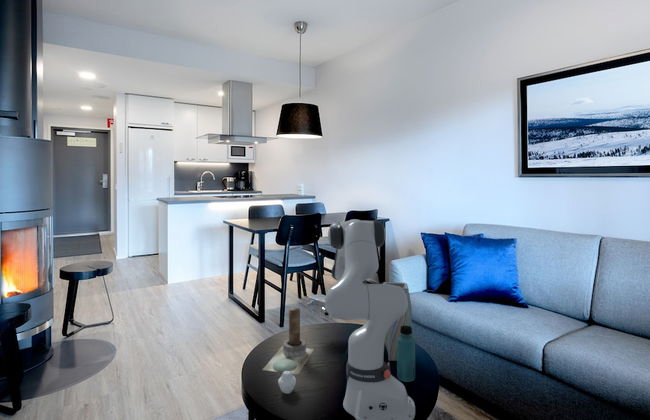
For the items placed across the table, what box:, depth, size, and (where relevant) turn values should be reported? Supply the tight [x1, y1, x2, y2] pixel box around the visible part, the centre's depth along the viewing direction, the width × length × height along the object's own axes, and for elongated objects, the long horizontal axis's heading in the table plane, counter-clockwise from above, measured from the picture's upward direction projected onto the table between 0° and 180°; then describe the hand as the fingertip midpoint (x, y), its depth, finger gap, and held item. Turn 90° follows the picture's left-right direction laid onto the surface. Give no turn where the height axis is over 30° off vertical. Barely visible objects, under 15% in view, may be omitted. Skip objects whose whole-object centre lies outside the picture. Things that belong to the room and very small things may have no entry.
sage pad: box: [273, 359, 296, 373], centre depth 143 cm, size 9×9×1 cm
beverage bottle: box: [396, 326, 416, 383], centre depth 134 cm, size 6×7×20 cm
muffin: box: [277, 371, 297, 395], centre depth 128 cm, size 6×6×7 cm
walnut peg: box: [288, 307, 301, 346], centre depth 154 cm, size 4×4×18 cm
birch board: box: [262, 338, 315, 375], centre depth 149 cm, size 14×22×6 cm, turn 166°
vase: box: [382, 281, 413, 362], centre depth 152 cm, size 14×14×30 cm
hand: (315, 307), depth 163 cm, fingers open, 8 cm apart
